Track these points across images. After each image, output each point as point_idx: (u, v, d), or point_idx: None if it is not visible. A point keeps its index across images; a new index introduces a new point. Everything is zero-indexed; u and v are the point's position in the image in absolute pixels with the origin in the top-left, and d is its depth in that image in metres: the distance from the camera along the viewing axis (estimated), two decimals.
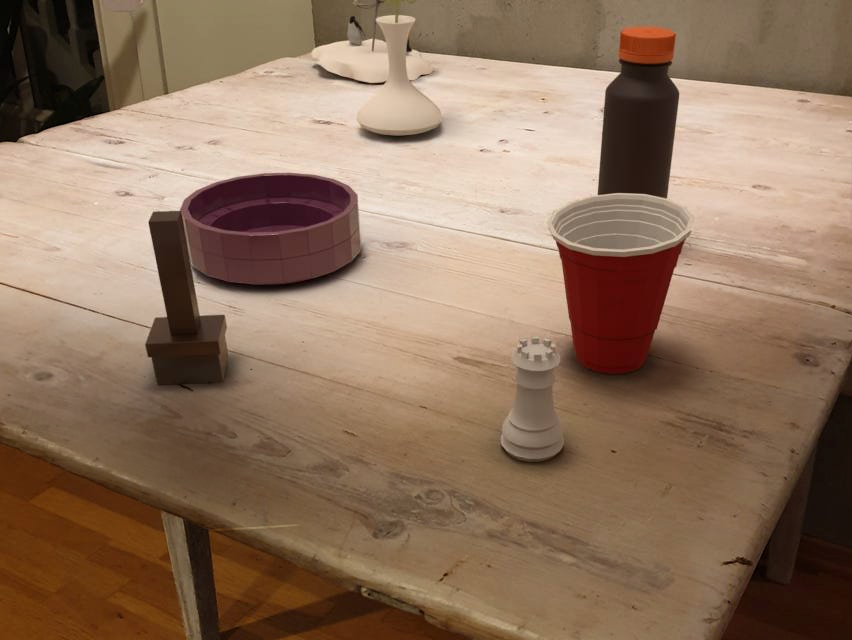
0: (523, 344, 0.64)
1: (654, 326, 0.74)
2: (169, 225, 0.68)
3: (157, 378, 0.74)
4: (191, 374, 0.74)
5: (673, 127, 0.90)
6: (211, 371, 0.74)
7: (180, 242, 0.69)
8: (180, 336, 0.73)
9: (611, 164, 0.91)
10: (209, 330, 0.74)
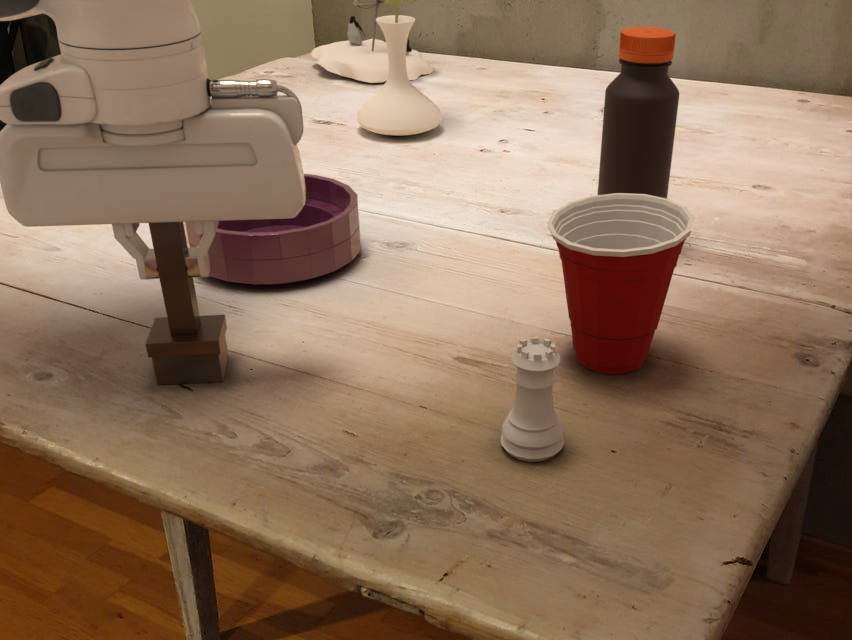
0: (523, 344, 0.64)
1: (654, 326, 0.74)
2: (169, 225, 0.68)
3: (157, 378, 0.74)
4: (191, 374, 0.74)
5: (673, 127, 0.90)
6: (211, 371, 0.74)
7: (180, 242, 0.69)
8: (181, 336, 0.73)
9: (611, 164, 0.91)
10: (209, 330, 0.74)
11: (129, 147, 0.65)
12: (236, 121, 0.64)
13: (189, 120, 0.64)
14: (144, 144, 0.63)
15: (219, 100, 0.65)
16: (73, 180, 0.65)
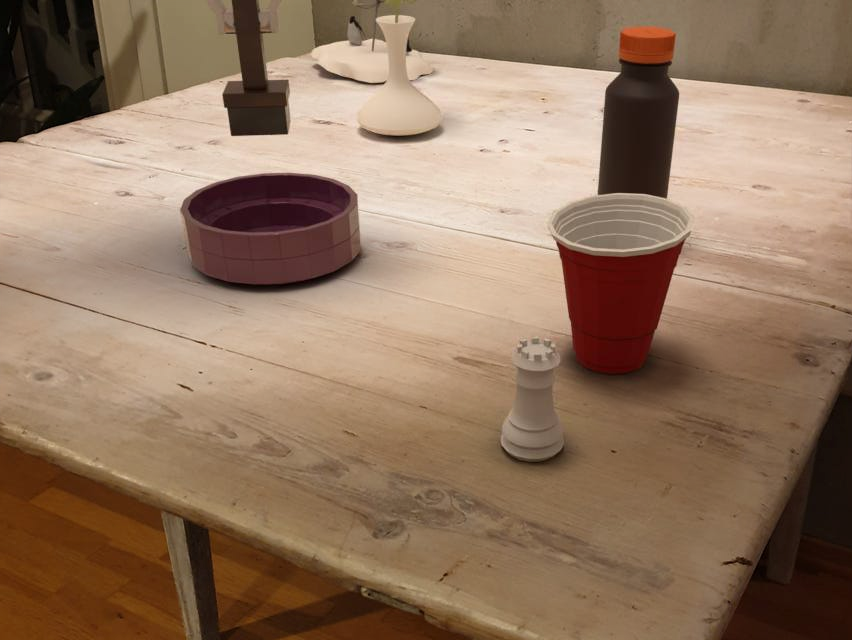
0: (523, 344, 0.64)
1: (654, 326, 0.74)
2: None
3: (231, 129, 0.85)
4: (261, 126, 0.85)
5: (673, 127, 0.90)
6: (278, 123, 0.85)
7: None
8: (252, 90, 0.84)
9: (611, 164, 0.91)
10: (276, 87, 0.85)
11: None
12: None
13: None
14: None
15: None
16: None
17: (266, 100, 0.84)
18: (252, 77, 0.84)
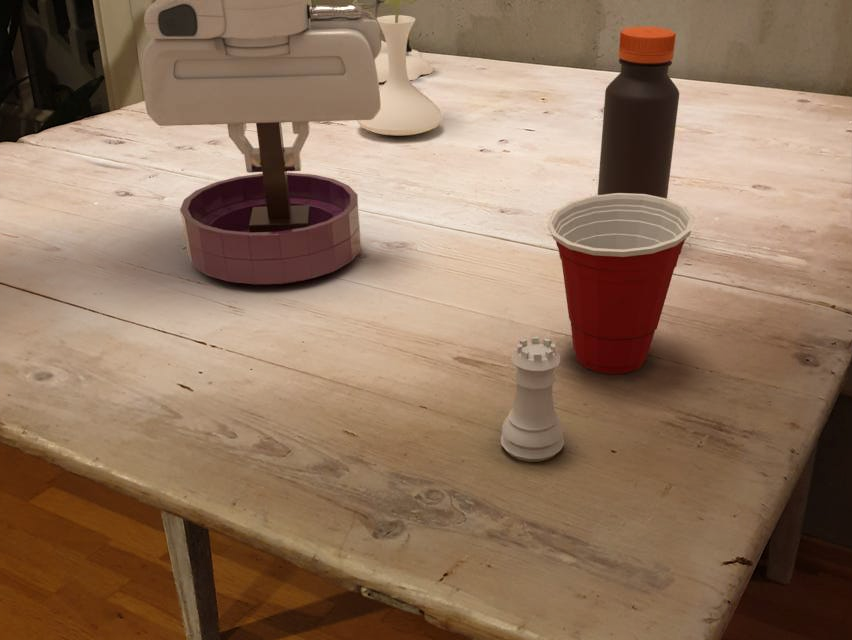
0: (523, 344, 0.64)
1: (654, 326, 0.74)
2: (273, 125, 0.85)
3: None
4: None
5: (673, 127, 0.90)
6: None
7: (280, 140, 0.86)
8: (276, 219, 0.90)
9: (611, 164, 0.91)
10: (298, 216, 0.91)
11: (245, 59, 0.82)
12: (330, 38, 0.81)
13: (293, 37, 0.81)
14: (259, 55, 0.80)
15: (316, 22, 0.82)
16: (200, 86, 0.82)
17: None
18: (276, 208, 0.90)
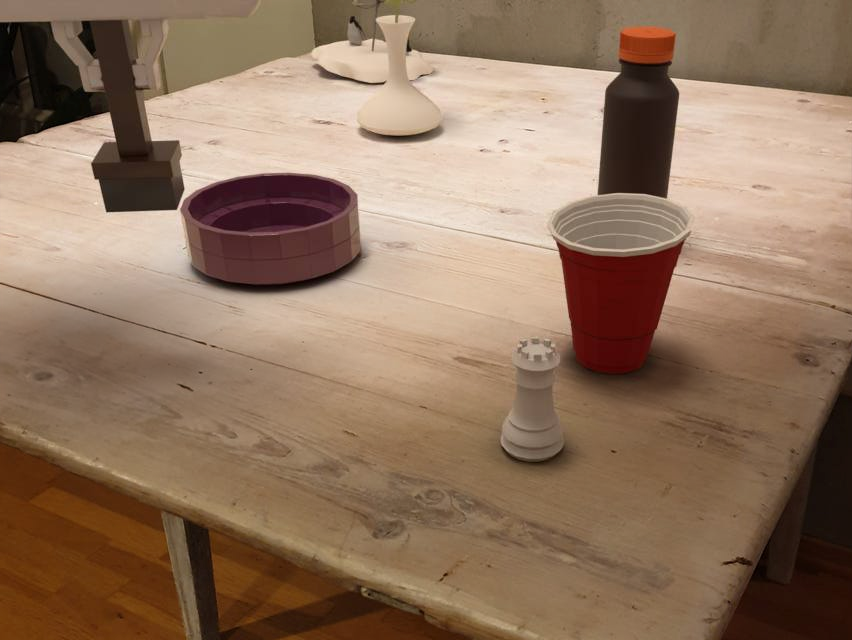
0: (523, 344, 0.64)
1: (654, 326, 0.74)
2: (113, 24, 0.63)
3: (106, 205, 0.69)
4: (142, 201, 0.69)
5: (673, 127, 0.90)
6: (164, 197, 0.69)
7: (125, 45, 0.64)
8: (130, 157, 0.68)
9: (611, 164, 0.91)
10: (161, 153, 0.69)
11: None
12: None
13: None
14: None
15: None
16: None
17: (146, 170, 0.68)
18: (129, 142, 0.67)
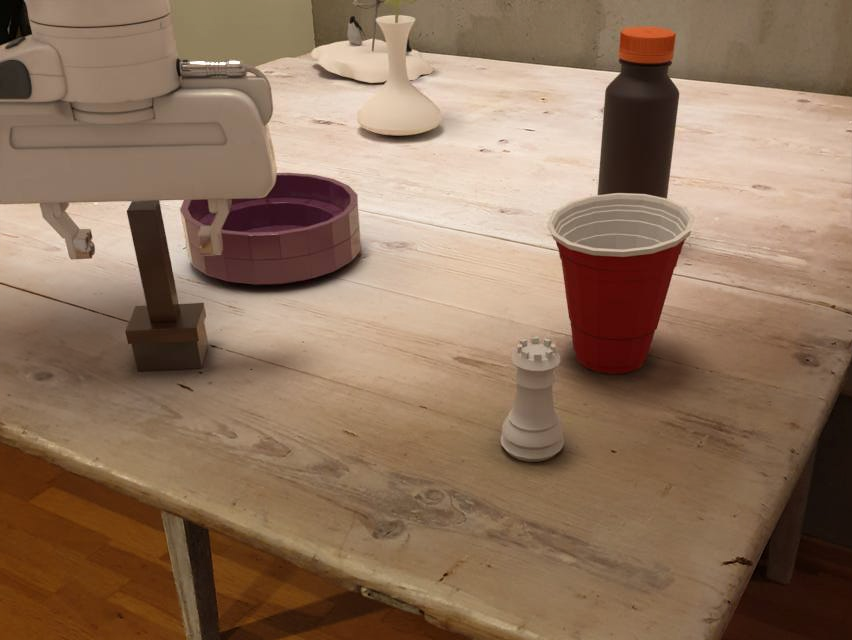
0: (523, 344, 0.64)
1: (654, 326, 0.74)
2: (147, 214, 0.70)
3: (137, 365, 0.76)
4: (170, 361, 0.76)
5: (673, 127, 0.90)
6: (190, 358, 0.76)
7: (158, 231, 0.71)
8: (160, 323, 0.75)
9: (611, 164, 0.91)
10: (187, 318, 0.75)
11: (100, 126, 0.65)
12: (205, 100, 0.65)
13: (159, 99, 0.65)
14: (114, 122, 0.64)
15: (189, 80, 0.65)
16: (44, 158, 0.66)
17: (175, 336, 0.74)
18: (159, 310, 0.74)
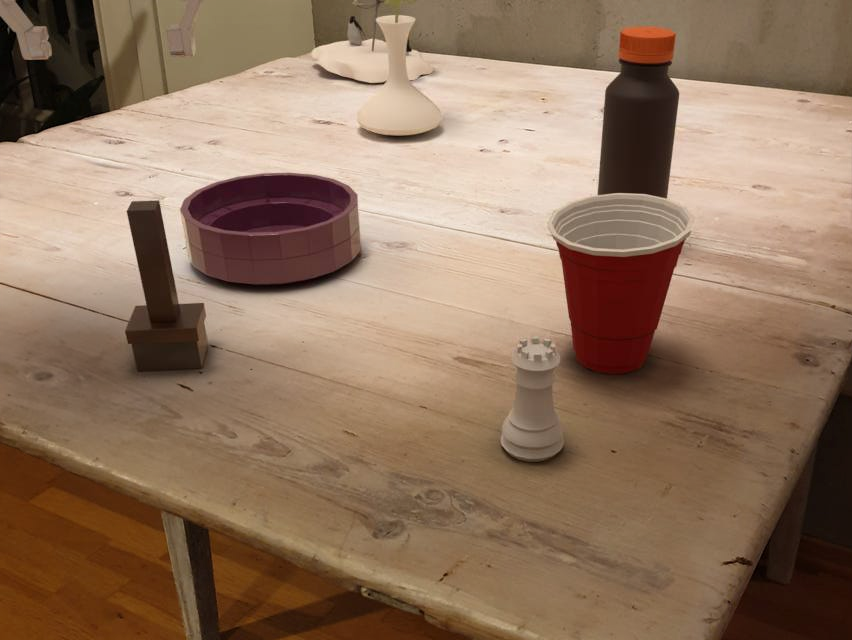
0: (523, 344, 0.64)
1: (654, 326, 0.74)
2: (147, 214, 0.70)
3: (137, 365, 0.76)
4: (170, 361, 0.76)
5: (673, 127, 0.90)
6: (190, 358, 0.76)
7: (158, 231, 0.71)
8: (160, 323, 0.75)
9: (611, 164, 0.91)
10: (187, 318, 0.75)
11: None
12: None
13: None
14: None
15: None
16: None
17: (175, 336, 0.74)
18: (159, 310, 0.74)
